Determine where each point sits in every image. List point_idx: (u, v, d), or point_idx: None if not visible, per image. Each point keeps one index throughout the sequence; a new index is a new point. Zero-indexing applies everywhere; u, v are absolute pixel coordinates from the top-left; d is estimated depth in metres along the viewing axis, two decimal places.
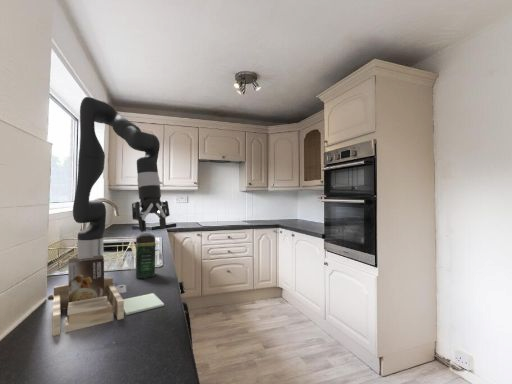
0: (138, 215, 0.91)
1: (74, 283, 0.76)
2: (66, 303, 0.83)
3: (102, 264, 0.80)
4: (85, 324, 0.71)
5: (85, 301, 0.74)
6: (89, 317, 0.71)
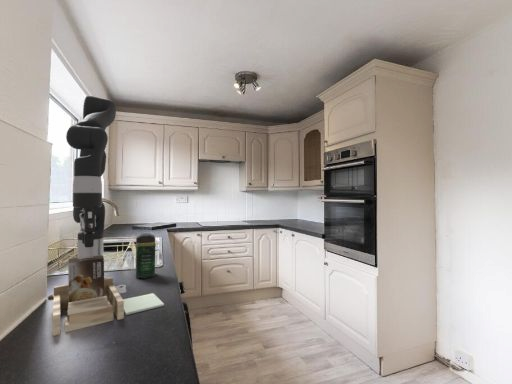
0: None
1: (74, 283, 0.76)
2: (66, 303, 0.83)
3: (102, 264, 0.80)
4: (85, 324, 0.71)
5: (85, 301, 0.74)
6: (89, 317, 0.71)
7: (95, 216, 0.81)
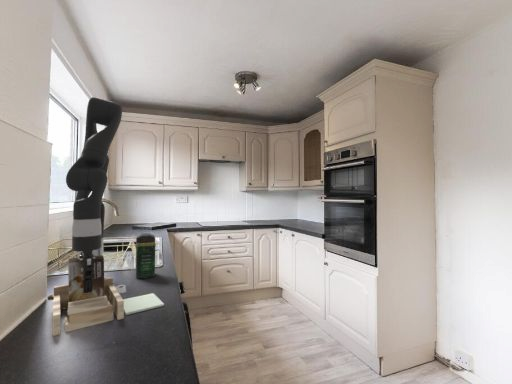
0: None
1: (74, 282, 0.76)
2: (66, 303, 0.83)
3: (102, 264, 0.80)
4: (85, 324, 0.71)
5: (84, 300, 0.74)
6: (89, 317, 0.71)
7: None
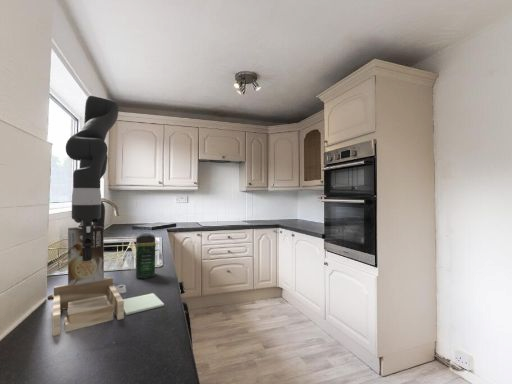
0: None
1: (73, 250, 0.77)
2: (66, 303, 0.83)
3: (101, 233, 0.80)
4: (85, 323, 0.71)
5: (84, 300, 0.74)
6: (89, 316, 0.72)
7: None
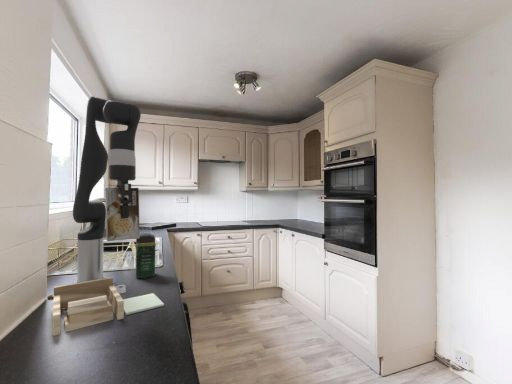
0: None
1: (111, 207, 0.80)
2: (66, 303, 0.83)
3: (137, 193, 0.84)
4: (85, 323, 0.71)
5: (84, 300, 0.74)
6: (89, 316, 0.72)
7: None
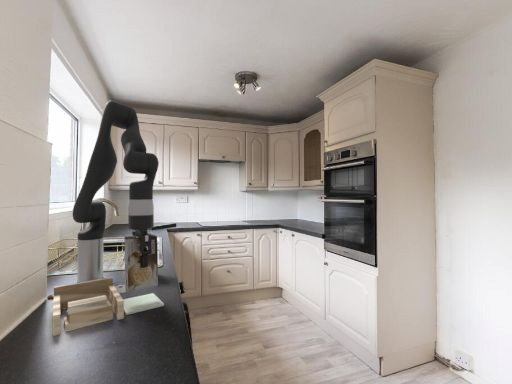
0: None
1: (132, 258, 0.82)
2: (66, 303, 0.83)
3: (156, 242, 0.86)
4: (85, 323, 0.71)
5: (84, 300, 0.74)
6: (89, 316, 0.72)
7: None
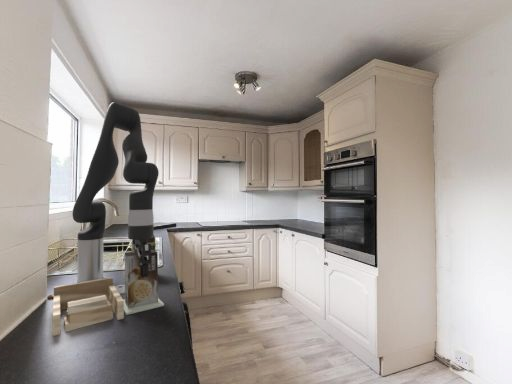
0: None
1: (132, 274, 0.82)
2: (66, 303, 0.83)
3: (156, 258, 0.86)
4: (85, 323, 0.71)
5: (84, 300, 0.74)
6: (89, 316, 0.72)
7: None
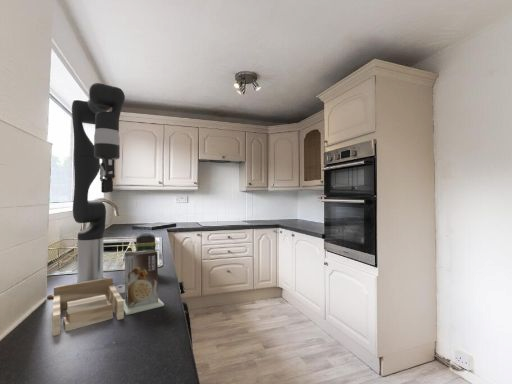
0: (100, 176, 0.94)
1: (132, 274, 0.82)
2: (66, 303, 0.83)
3: (156, 258, 0.86)
4: (85, 322, 0.72)
5: (83, 300, 0.74)
6: (89, 315, 0.72)
7: None
